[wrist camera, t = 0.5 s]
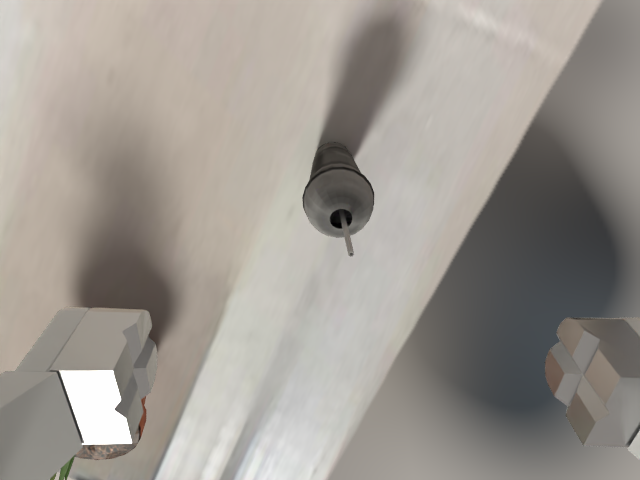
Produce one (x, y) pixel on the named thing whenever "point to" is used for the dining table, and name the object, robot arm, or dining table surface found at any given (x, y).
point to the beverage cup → (337, 194)
